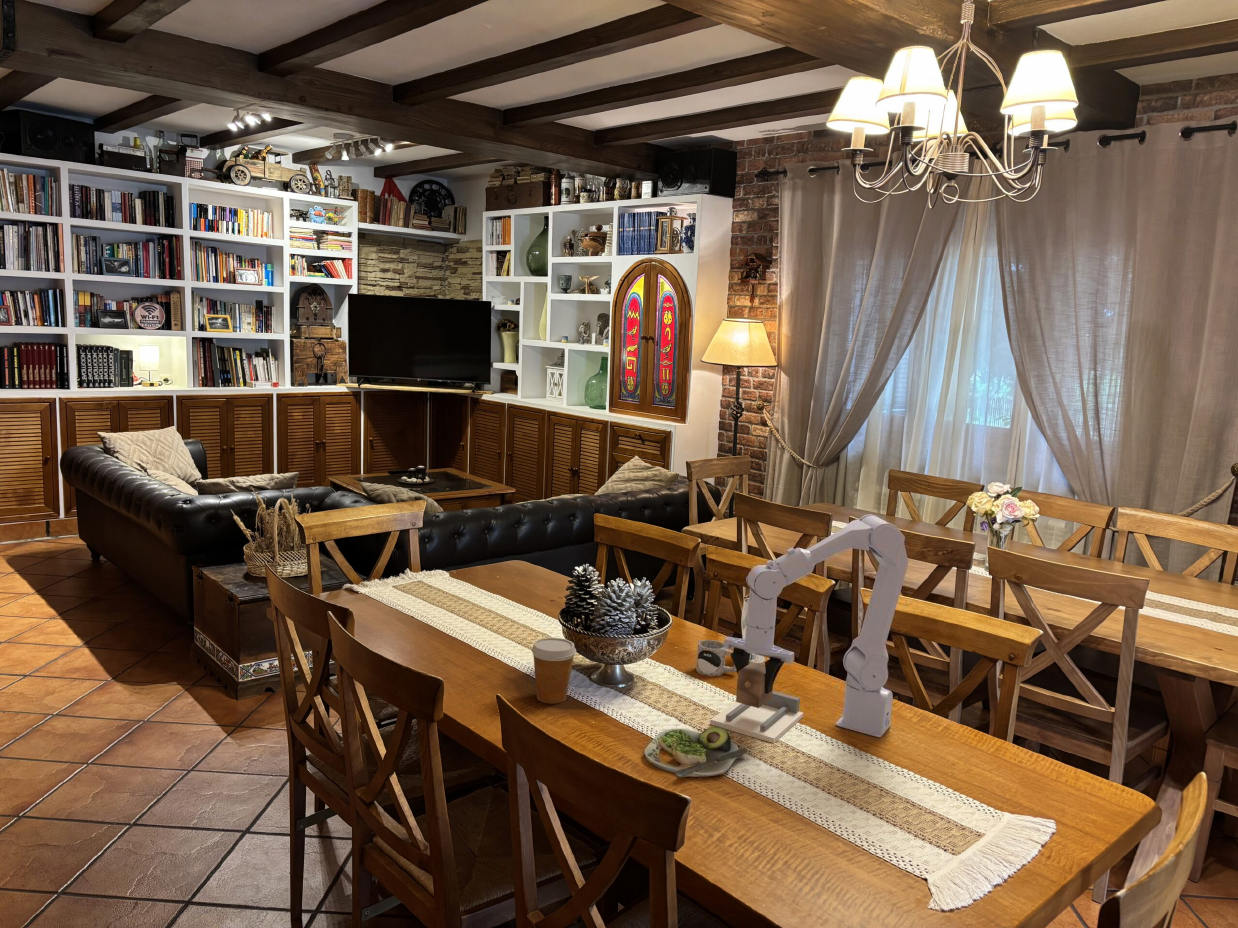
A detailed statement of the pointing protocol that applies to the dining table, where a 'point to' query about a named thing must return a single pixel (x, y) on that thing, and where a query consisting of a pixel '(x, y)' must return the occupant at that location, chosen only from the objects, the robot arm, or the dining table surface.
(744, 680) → the cabinet block
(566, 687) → the disposable coffee cup
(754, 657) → the beer glass
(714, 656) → the mug
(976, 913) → the dining table surface
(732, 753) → the avocado toast plate
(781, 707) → the cleat board
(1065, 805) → the dining table surface
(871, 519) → the robot arm
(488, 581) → the dining table surface
